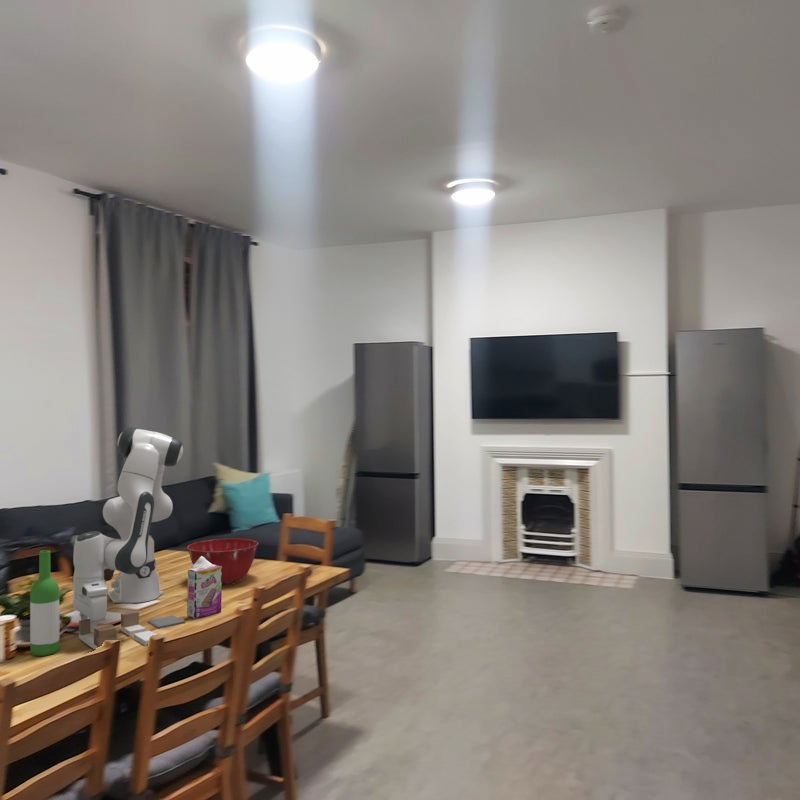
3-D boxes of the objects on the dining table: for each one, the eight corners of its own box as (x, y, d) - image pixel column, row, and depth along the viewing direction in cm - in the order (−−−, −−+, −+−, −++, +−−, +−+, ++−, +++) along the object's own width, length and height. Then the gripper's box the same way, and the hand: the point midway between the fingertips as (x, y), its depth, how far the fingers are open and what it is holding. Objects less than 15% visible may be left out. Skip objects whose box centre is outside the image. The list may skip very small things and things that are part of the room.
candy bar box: (195, 619, 248) (195, 571, 248) (186, 617, 251) (186, 569, 251) (222, 612, 257) (222, 565, 257) (213, 609, 260) (213, 563, 260)
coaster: (147, 622, 245) (147, 620, 245) (173, 617, 251) (173, 615, 251) (158, 628, 238) (158, 626, 238) (184, 623, 244) (184, 621, 244)
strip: (78, 638, 228) (78, 620, 228) (95, 634, 231) (95, 617, 231) (101, 654, 213) (101, 635, 213) (118, 650, 216) (118, 632, 216)
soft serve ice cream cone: (196, 595, 279) (196, 553, 279) (217, 595, 279) (217, 553, 279) (187, 601, 271) (187, 557, 271) (209, 601, 270) (209, 558, 270)
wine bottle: (30, 650, 218) (30, 549, 218) (59, 646, 221) (59, 547, 221) (29, 658, 211) (29, 554, 211) (59, 654, 214) (59, 552, 214)
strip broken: (120, 630, 237) (120, 613, 237) (135, 627, 240) (135, 610, 240) (145, 645, 222) (145, 627, 222) (161, 642, 225) (161, 624, 225)
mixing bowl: (175, 580, 302) (175, 543, 302) (237, 570, 320) (237, 535, 320) (206, 594, 280) (206, 554, 280) (271, 582, 299) (271, 544, 299)
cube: (93, 644, 218) (93, 627, 218) (110, 640, 221) (110, 623, 221) (99, 648, 214) (99, 631, 214) (116, 644, 217) (116, 627, 217)
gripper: (67, 580, 234) (67, 623, 234) (89, 592, 219) (89, 639, 219) (87, 577, 238) (88, 619, 238) (110, 589, 223) (110, 634, 223)
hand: (88, 629), depth 228 cm, fingers open, 6 cm apart
